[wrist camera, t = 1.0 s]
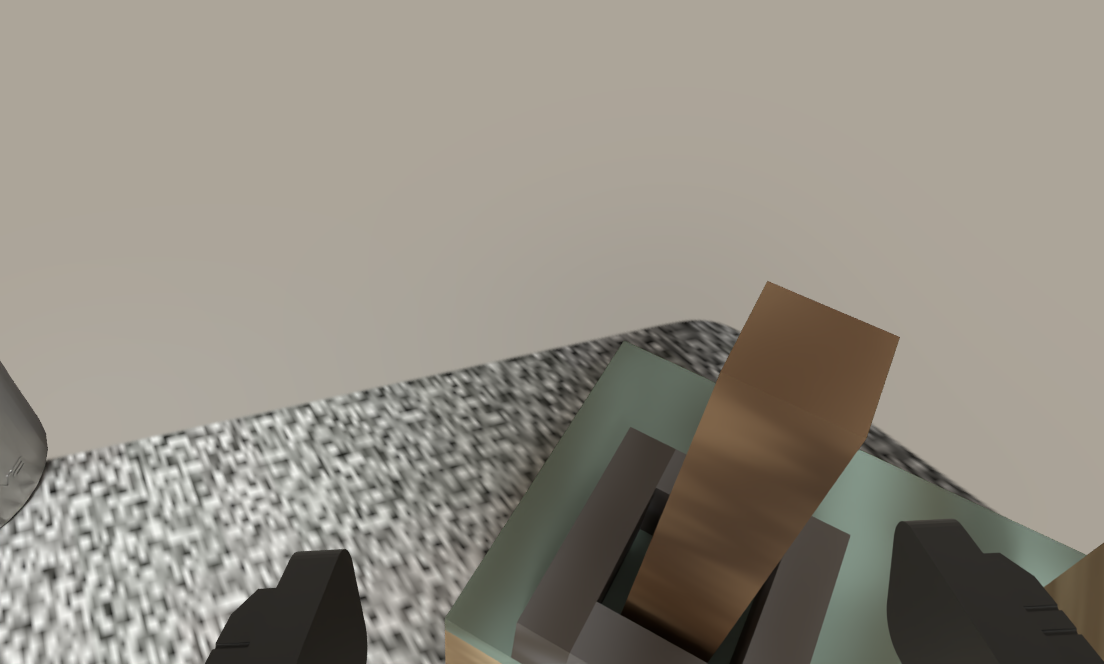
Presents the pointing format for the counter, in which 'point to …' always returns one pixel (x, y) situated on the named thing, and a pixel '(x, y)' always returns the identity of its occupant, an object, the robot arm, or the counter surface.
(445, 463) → the counter surface
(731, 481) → the walnut key
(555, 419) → the counter surface
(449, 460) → the counter surface
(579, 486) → the wooden socket fixture
